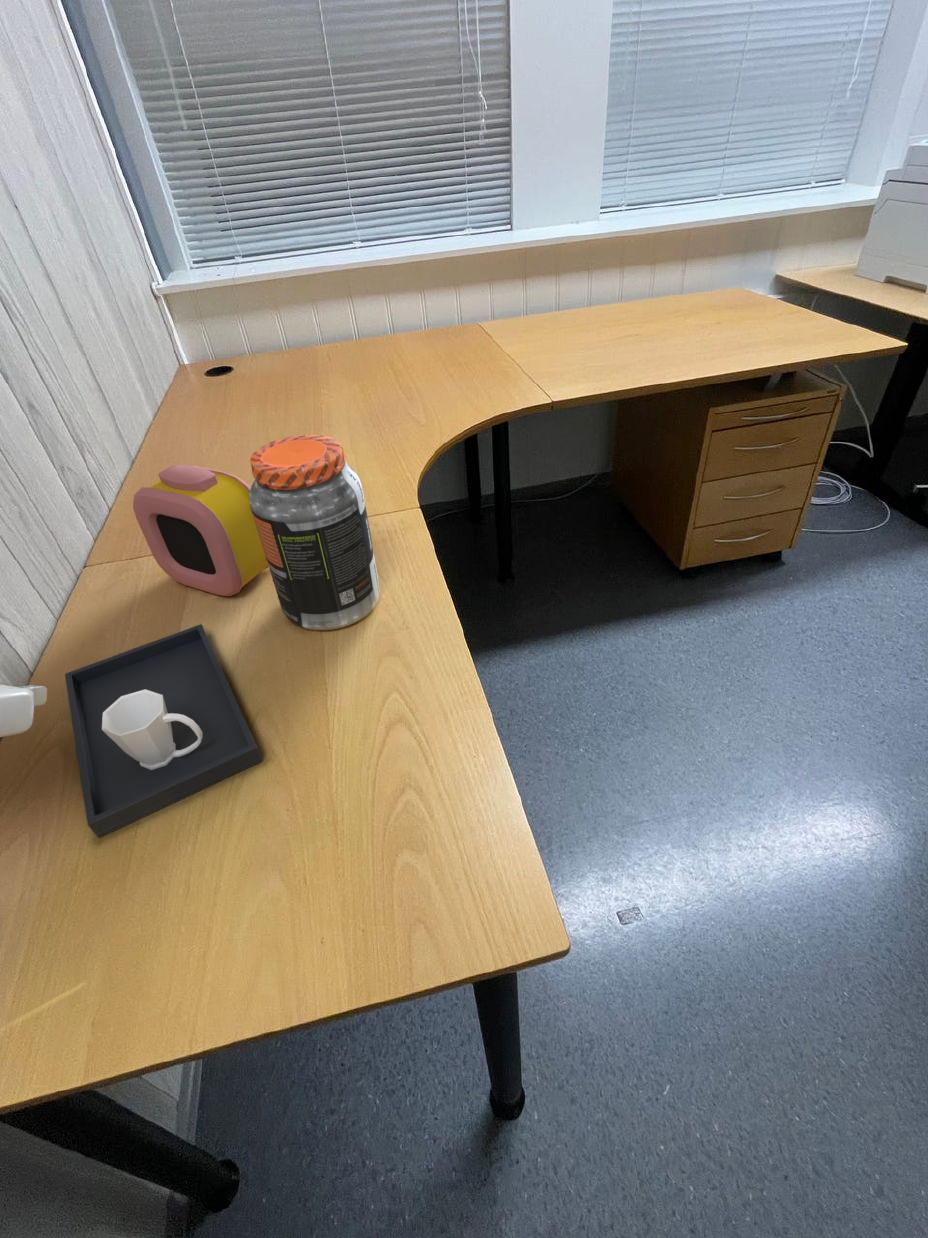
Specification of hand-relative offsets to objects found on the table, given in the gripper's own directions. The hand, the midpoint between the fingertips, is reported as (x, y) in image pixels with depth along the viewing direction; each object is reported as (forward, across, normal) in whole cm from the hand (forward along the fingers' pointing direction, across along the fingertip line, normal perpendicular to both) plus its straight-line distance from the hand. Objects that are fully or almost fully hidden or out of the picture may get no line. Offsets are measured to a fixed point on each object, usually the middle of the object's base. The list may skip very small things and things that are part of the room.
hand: (2, 687), depth 58 cm
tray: (+21, -1, +7) cm, 22 cm away
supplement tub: (+44, -12, -9) cm, 46 cm away
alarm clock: (+46, +9, -12) cm, 48 cm away
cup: (+17, -6, +10) cm, 21 cm away
